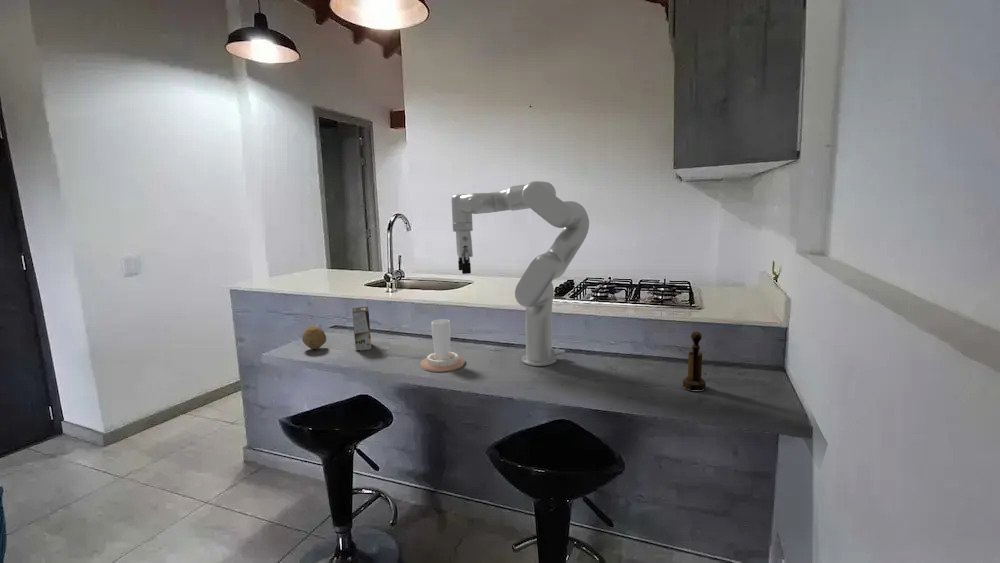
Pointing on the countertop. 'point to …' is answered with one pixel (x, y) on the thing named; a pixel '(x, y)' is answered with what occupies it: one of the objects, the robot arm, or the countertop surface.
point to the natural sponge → (314, 337)
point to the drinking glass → (441, 338)
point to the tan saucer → (442, 363)
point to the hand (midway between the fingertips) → (464, 271)
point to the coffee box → (361, 328)
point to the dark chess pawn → (695, 366)
